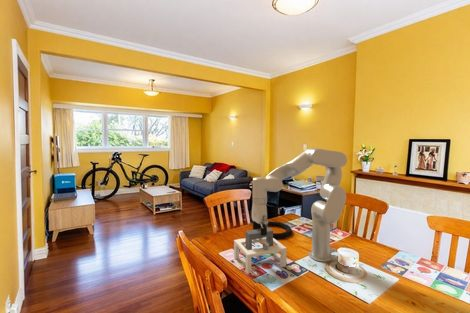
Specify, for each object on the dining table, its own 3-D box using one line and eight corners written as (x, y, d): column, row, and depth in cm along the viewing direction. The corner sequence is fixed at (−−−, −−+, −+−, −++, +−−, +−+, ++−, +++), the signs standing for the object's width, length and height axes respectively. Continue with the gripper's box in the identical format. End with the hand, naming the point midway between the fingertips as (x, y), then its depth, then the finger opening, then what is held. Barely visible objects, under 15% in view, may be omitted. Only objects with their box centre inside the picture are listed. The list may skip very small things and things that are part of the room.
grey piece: (249, 256, 129) (249, 234, 128) (245, 252, 133) (245, 231, 132) (272, 252, 134) (273, 230, 133) (268, 248, 138) (268, 227, 137)
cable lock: (296, 224, 182) (284, 238, 156) (296, 229, 183) (284, 244, 156) (261, 218, 195) (245, 230, 169) (261, 223, 196) (244, 236, 169)
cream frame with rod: (268, 250, 147) (269, 227, 145) (286, 266, 129) (286, 240, 128) (234, 257, 139) (234, 232, 138) (247, 274, 121) (247, 246, 120)
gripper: (246, 197, 138) (246, 227, 139) (260, 205, 122) (260, 239, 123) (258, 196, 141) (258, 225, 142) (273, 203, 125) (273, 236, 126)
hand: (259, 231), depth 133 cm, fingers open, 9 cm apart
